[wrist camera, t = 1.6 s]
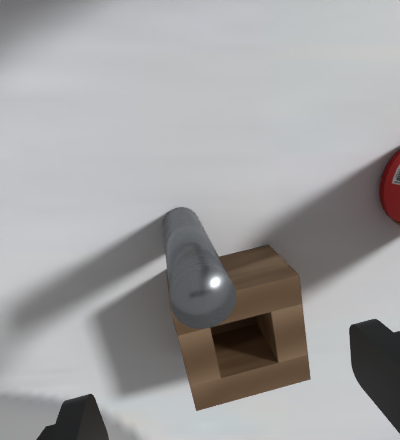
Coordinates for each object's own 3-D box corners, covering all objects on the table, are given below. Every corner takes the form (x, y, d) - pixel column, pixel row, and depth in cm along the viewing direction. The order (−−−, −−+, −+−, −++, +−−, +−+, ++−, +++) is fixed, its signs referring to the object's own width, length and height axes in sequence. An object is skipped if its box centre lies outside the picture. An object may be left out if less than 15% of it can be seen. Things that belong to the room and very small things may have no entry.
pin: (159, 211, 25) (163, 278, 14) (195, 203, 25) (230, 262, 14) (167, 246, 26) (178, 335, 14) (202, 237, 26) (240, 319, 15)
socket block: (166, 269, 26) (170, 306, 21) (268, 245, 27) (299, 274, 21) (187, 356, 29) (196, 411, 23) (280, 331, 30) (310, 379, 24)
